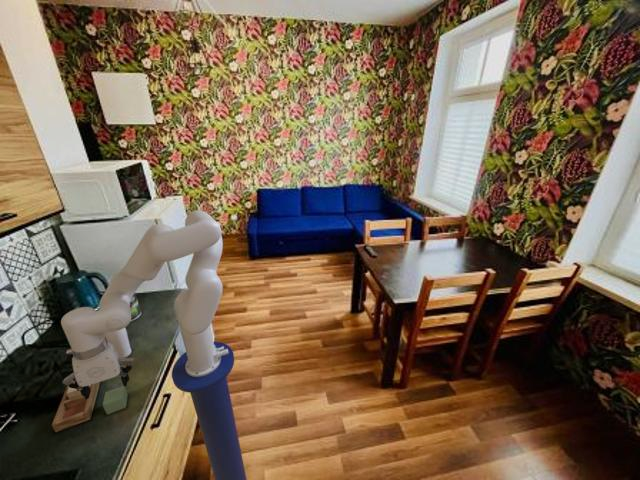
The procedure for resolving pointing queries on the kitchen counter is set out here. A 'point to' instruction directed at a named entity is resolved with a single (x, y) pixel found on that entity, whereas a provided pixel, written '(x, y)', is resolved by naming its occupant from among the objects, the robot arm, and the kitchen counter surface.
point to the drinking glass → (119, 342)
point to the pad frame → (74, 409)
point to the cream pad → (74, 392)
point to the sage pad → (115, 400)
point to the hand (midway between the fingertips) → (107, 389)
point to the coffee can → (134, 308)
